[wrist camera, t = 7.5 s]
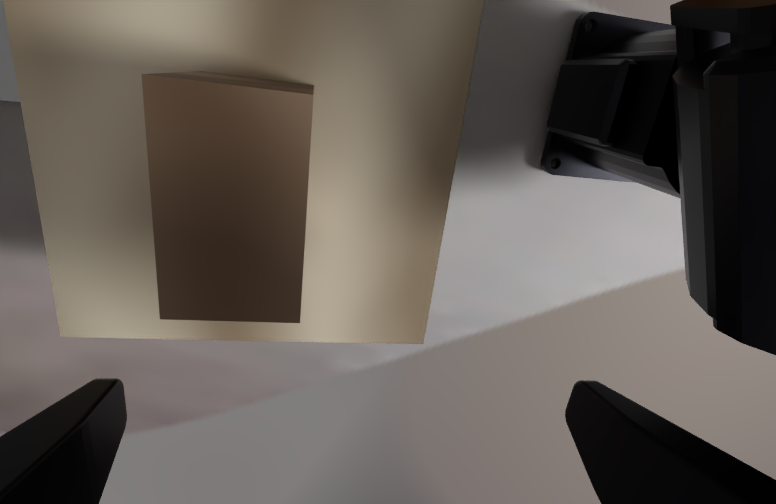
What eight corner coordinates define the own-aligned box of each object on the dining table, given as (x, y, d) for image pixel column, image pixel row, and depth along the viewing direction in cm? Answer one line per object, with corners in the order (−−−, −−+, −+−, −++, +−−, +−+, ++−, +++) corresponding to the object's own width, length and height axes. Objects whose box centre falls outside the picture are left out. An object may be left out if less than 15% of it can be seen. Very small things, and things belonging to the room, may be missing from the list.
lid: (477, -25, 13) (579, -81, 8) (417, 329, 17) (458, 436, 12) (9, -109, 11) (-257, -261, 6) (76, 320, 15) (-43, 446, 10)
